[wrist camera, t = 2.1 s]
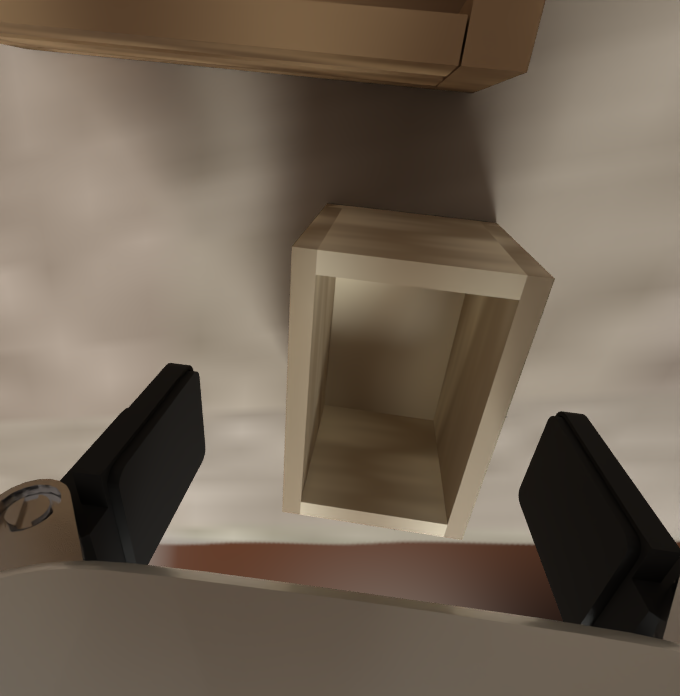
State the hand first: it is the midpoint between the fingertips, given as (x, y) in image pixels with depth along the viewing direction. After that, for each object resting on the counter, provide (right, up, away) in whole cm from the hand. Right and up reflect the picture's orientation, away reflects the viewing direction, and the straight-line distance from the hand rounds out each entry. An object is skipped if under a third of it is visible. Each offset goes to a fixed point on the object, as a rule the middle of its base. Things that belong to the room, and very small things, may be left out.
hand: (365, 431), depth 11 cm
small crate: (+1, +3, +6) cm, 7 cm away
